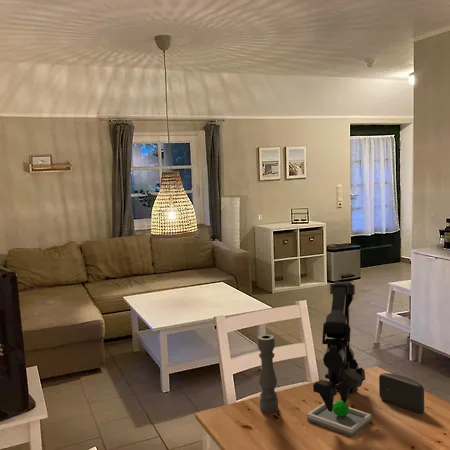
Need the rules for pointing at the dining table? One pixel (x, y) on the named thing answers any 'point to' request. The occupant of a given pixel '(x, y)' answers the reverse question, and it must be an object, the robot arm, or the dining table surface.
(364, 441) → the dining table surface
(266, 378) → the candle holder
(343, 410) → the polyhedron
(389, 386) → the leaning round-cornered charcoal block
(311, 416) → the tray
